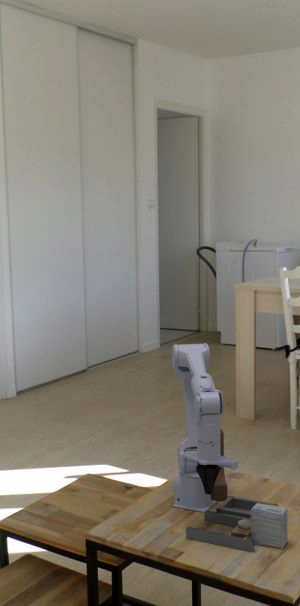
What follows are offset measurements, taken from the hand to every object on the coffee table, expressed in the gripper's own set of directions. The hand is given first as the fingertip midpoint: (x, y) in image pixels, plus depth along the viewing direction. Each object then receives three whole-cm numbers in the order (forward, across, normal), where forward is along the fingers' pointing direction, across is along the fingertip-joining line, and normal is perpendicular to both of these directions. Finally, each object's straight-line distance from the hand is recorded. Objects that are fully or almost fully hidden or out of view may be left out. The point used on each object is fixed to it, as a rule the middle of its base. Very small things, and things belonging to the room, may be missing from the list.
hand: (209, 493), depth 186 cm
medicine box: (+10, +16, -1) cm, 19 cm away
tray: (+9, +6, +11) cm, 16 cm away
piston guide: (+9, +6, -1) cm, 11 cm away
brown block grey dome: (+9, +10, -1) cm, 14 cm away
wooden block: (+10, -7, +22) cm, 25 cm away
